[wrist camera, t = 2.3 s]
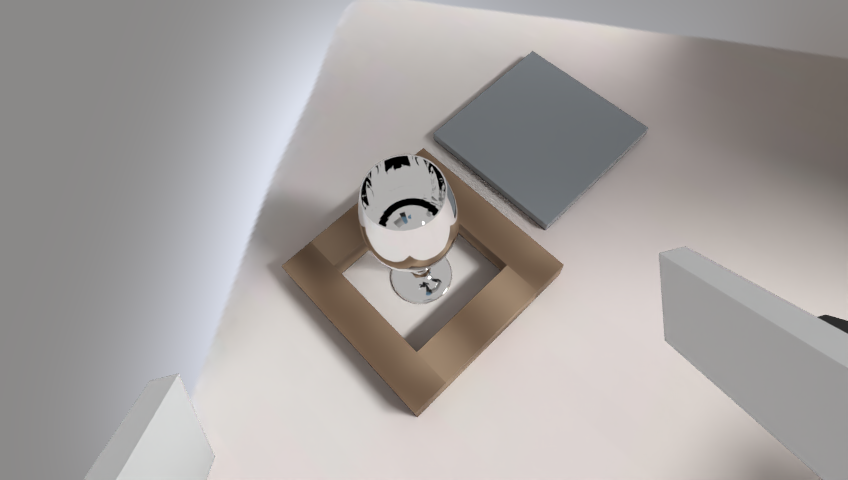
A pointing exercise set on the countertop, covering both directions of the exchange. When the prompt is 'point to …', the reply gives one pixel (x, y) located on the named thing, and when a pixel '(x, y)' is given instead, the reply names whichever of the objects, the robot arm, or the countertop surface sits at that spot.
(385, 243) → the wineglass
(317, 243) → the brown wooden square frame
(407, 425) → the countertop surface
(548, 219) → the coaster
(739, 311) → the robot arm
